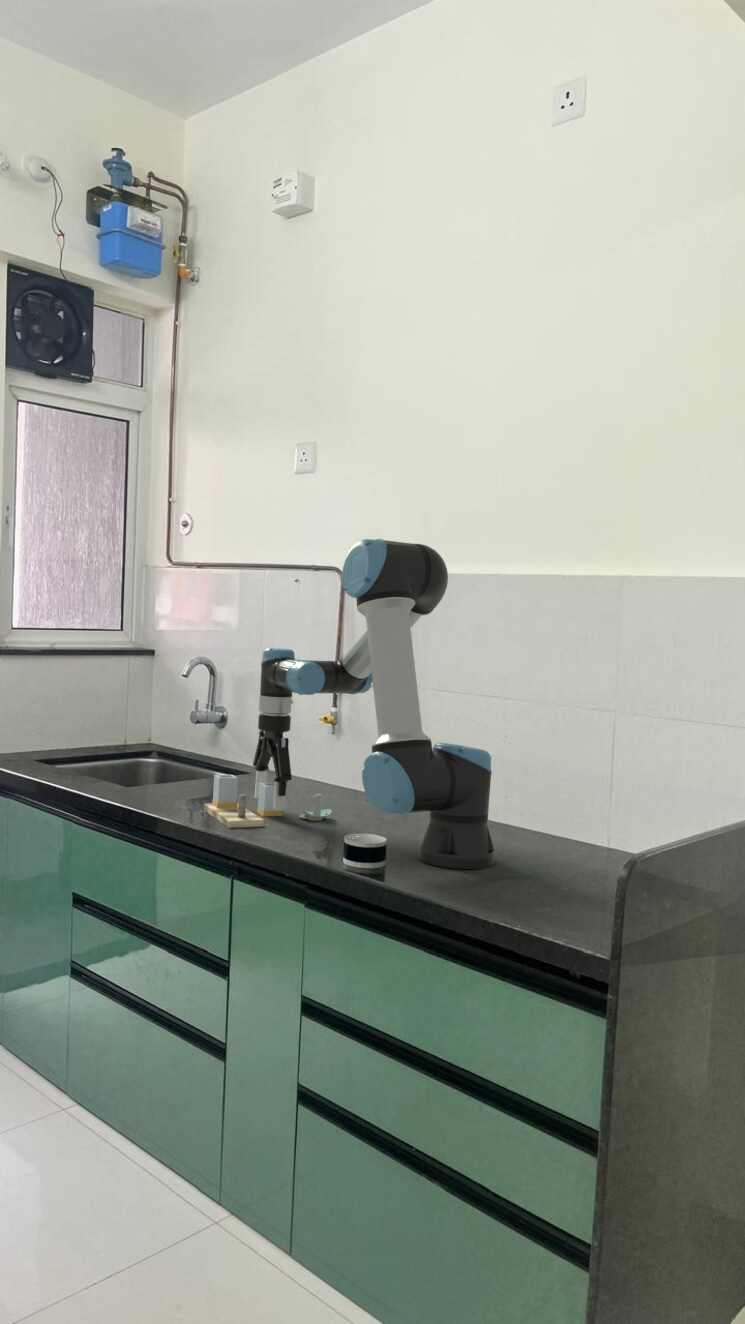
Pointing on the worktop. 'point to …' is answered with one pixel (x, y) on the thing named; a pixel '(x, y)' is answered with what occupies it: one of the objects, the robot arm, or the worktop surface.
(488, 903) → the worktop surface
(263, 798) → the sleeve
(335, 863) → the worktop surface
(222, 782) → the sleeve
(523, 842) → the worktop surface
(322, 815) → the pacifier
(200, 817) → the worktop surface
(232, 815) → the pin board
